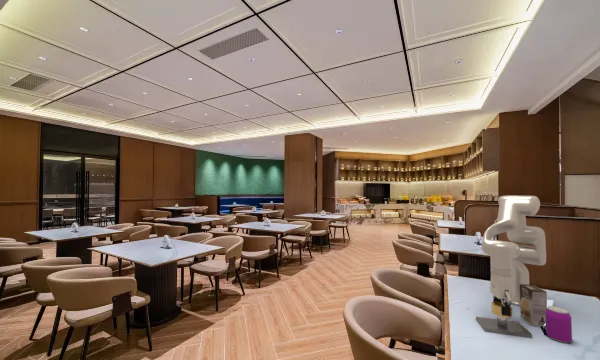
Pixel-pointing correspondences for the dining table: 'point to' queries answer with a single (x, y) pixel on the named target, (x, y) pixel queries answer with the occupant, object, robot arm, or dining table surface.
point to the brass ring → (498, 308)
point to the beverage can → (558, 324)
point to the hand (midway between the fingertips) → (501, 311)
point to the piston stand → (503, 326)
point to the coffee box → (533, 304)
